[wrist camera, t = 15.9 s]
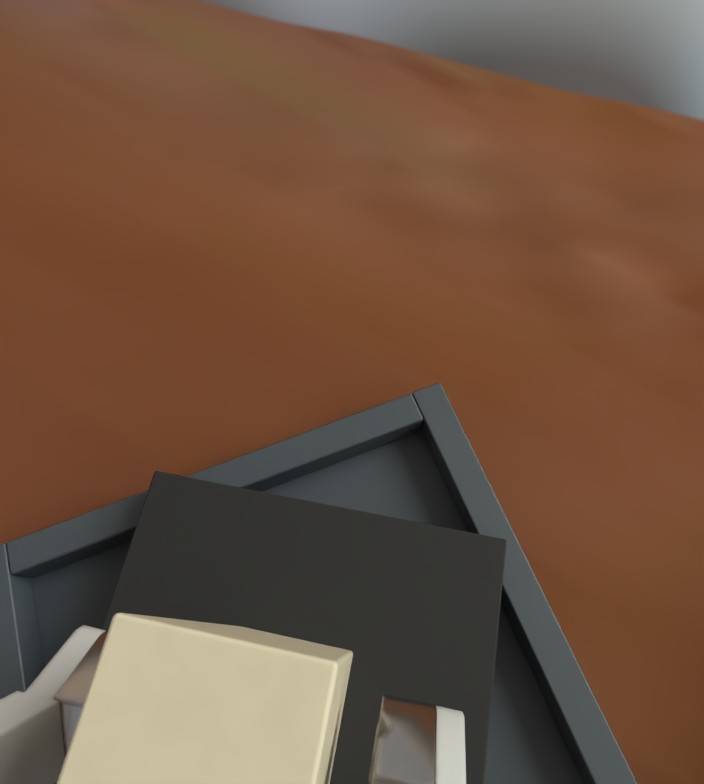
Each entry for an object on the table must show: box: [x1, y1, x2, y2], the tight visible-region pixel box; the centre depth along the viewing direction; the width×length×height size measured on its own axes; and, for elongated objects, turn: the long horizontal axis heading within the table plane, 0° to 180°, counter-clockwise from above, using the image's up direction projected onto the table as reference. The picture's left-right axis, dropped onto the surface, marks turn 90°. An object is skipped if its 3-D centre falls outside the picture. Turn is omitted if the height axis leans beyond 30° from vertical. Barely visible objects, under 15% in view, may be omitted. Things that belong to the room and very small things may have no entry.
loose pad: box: [55, 471, 506, 784], centre depth 11 cm, size 10×10×9 cm
